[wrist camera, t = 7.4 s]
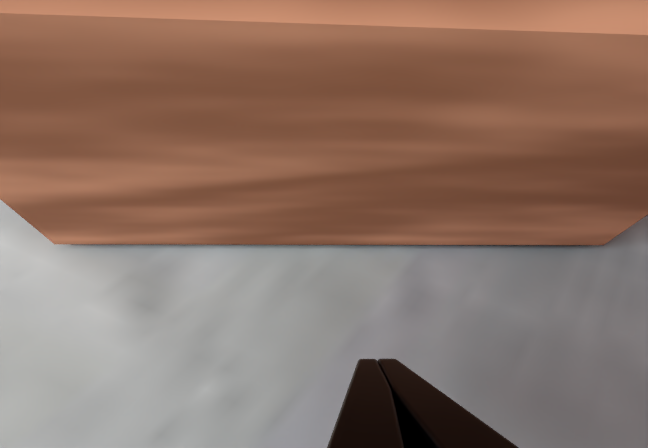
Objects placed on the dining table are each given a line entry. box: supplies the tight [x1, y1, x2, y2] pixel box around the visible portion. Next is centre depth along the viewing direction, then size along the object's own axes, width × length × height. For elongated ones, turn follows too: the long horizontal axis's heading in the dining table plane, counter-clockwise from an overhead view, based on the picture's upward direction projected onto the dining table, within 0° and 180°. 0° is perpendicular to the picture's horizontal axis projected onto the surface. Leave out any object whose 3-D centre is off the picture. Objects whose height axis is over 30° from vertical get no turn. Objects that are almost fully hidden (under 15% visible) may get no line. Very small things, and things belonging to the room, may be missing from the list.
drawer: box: [0, 0, 648, 245], centre depth 16 cm, size 14×25×10 cm, turn 91°
